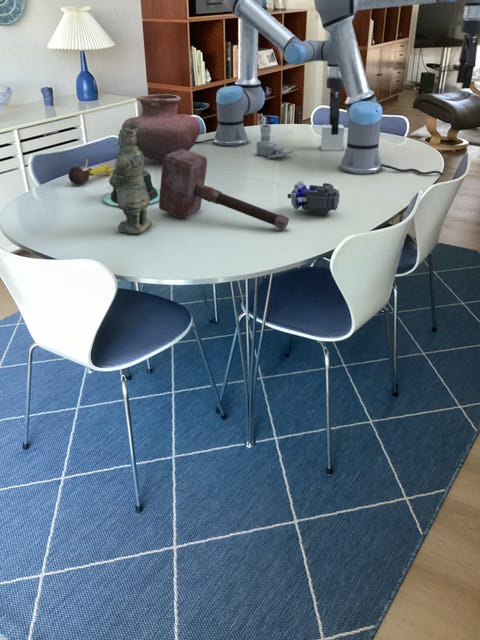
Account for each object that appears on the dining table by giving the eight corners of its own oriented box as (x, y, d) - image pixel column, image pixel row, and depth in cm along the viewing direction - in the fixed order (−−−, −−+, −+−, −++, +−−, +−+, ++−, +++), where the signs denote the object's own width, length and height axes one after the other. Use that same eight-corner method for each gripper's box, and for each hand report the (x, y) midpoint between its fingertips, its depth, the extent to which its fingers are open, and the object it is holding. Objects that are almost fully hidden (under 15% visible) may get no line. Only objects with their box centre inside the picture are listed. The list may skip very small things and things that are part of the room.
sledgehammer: (299, 190, 156) (179, 147, 167) (285, 200, 148) (161, 154, 160) (286, 244, 166) (174, 200, 177) (272, 256, 158) (156, 209, 170)
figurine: (134, 159, 212) (83, 166, 193) (134, 179, 215) (84, 188, 196) (109, 155, 218) (58, 161, 199) (110, 174, 221) (59, 182, 202)
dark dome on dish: (91, 202, 180) (113, 186, 197) (142, 231, 182) (160, 212, 199) (107, 162, 172) (129, 148, 190) (160, 192, 174) (177, 176, 192)
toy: (295, 178, 172) (342, 184, 166) (295, 205, 177) (340, 211, 171) (285, 186, 166) (333, 192, 160) (284, 213, 170) (331, 220, 164)
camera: (266, 123, 231) (294, 128, 223) (265, 151, 237) (293, 157, 229) (252, 126, 226) (281, 131, 217) (252, 155, 232) (280, 162, 223)
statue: (131, 220, 168) (117, 116, 152) (158, 224, 164) (147, 118, 149) (109, 233, 159) (93, 124, 144) (138, 237, 156) (124, 126, 140)
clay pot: (207, 152, 239) (204, 90, 226) (190, 171, 213) (185, 102, 200) (140, 150, 243) (133, 89, 231) (115, 169, 218) (106, 101, 205)
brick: (321, 150, 238) (322, 127, 234) (320, 146, 244) (322, 124, 239) (342, 150, 238) (344, 127, 233) (341, 146, 243) (342, 124, 238)
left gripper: (348, 80, 215) (344, 137, 226) (342, 73, 237) (340, 125, 247) (328, 81, 216) (326, 137, 226) (325, 74, 237) (323, 125, 248)
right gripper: (492, 21, 181) (479, 90, 192) (479, 18, 202) (468, 80, 213) (468, 21, 182) (456, 90, 193) (457, 18, 204) (447, 80, 214)
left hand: (333, 131), depth 237 cm, fingers open, 13 cm apart
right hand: (462, 85), depth 203 cm, fingers open, 13 cm apart
